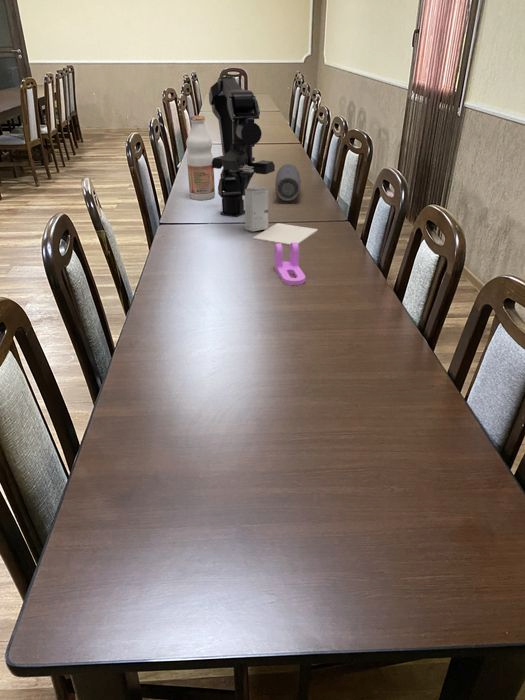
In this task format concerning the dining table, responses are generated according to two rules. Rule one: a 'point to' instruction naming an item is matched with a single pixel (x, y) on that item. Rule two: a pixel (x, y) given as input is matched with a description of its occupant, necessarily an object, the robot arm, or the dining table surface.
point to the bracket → (288, 264)
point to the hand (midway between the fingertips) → (243, 194)
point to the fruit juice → (200, 161)
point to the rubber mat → (285, 234)
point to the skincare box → (256, 208)
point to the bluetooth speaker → (288, 182)
